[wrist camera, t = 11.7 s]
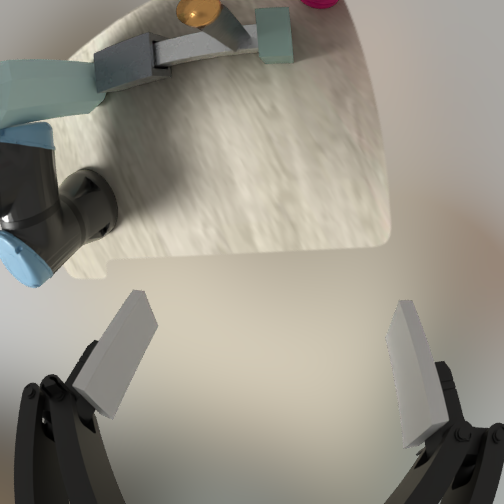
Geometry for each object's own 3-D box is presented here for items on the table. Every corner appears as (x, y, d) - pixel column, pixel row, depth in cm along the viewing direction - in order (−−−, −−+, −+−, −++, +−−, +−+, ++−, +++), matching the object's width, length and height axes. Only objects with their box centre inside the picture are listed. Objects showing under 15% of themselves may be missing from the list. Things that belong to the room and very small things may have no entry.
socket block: (265, 63, 32) (259, 57, 26) (261, 22, 28) (254, 8, 22) (293, 63, 31) (293, 55, 25) (289, 21, 28) (288, 7, 22)
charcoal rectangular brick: (120, 90, 36) (96, 93, 31) (116, 55, 32) (93, 53, 27) (171, 76, 34) (152, 75, 29) (168, 38, 31) (148, 32, 25)
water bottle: (114, 106, 37) (-12, 124, 15) (75, 119, 39) (-36, 147, 17) (112, 55, 32) (-9, 45, 10) (73, 73, 34) (-36, 81, 12)
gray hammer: (160, 70, 33) (81, 67, 18) (158, 46, 30) (79, 32, 15) (280, 53, 30) (268, 18, 15) (278, 27, 27) (263, -22, 12)
